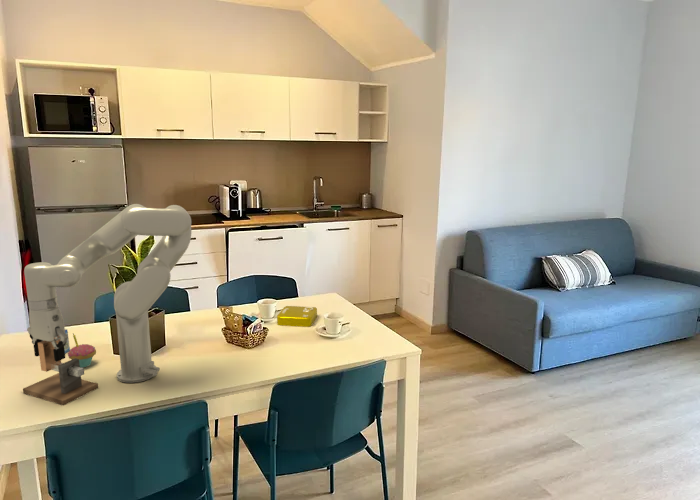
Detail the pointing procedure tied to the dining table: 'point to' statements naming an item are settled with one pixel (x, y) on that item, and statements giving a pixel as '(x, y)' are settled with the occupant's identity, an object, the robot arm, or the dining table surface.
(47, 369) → the tan grey angled piece
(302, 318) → the element tile
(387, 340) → the dining table surface
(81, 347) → the cupcake
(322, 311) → the dining table surface
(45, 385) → the eye board
